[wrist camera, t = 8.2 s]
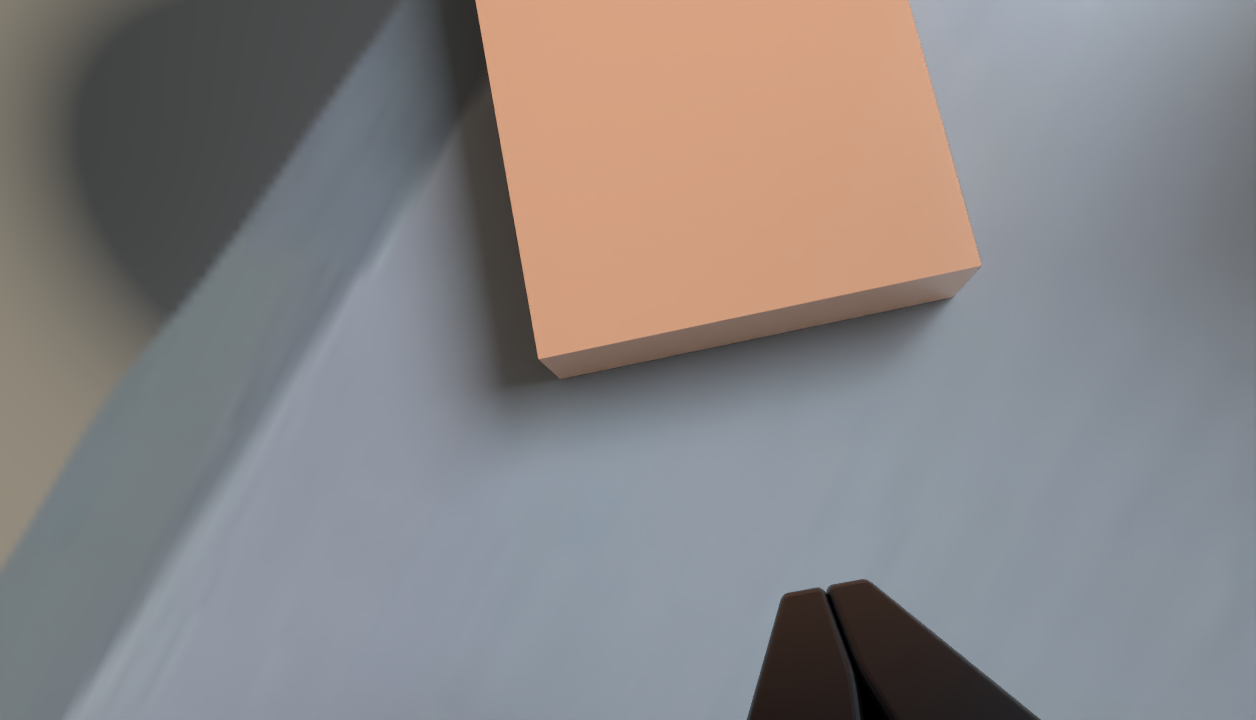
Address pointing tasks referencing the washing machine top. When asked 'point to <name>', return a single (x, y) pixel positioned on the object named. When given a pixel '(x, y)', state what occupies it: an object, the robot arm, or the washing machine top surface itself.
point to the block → (718, 170)
